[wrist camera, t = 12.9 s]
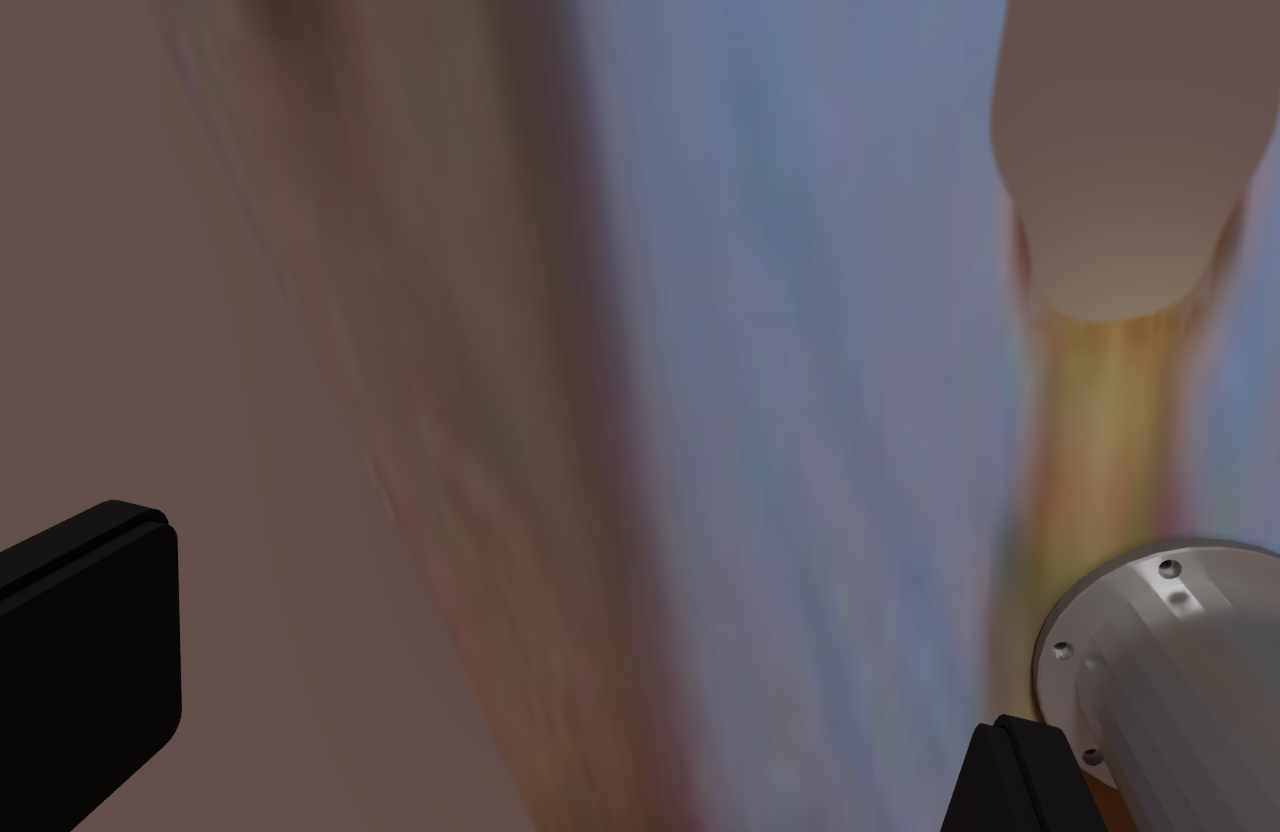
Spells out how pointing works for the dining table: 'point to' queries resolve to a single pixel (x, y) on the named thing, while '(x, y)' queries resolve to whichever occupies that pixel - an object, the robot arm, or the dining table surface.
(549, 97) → the dining table surface
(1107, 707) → the robot arm
